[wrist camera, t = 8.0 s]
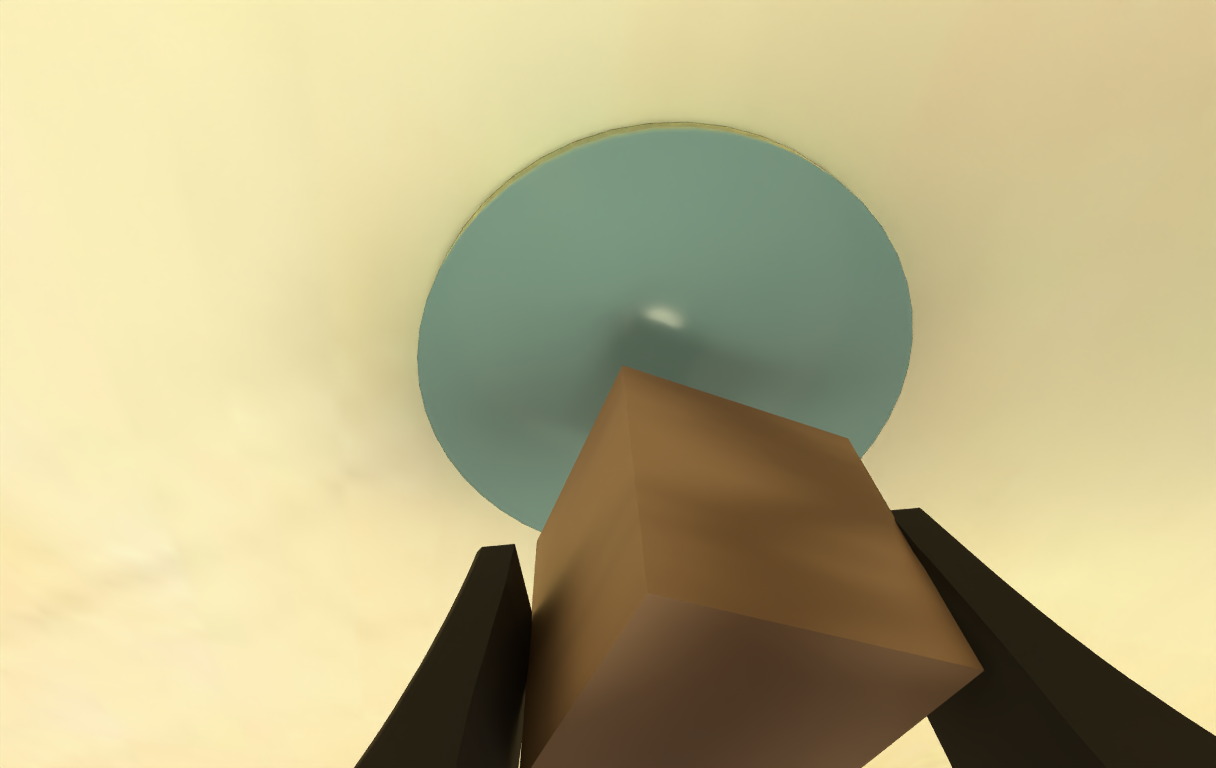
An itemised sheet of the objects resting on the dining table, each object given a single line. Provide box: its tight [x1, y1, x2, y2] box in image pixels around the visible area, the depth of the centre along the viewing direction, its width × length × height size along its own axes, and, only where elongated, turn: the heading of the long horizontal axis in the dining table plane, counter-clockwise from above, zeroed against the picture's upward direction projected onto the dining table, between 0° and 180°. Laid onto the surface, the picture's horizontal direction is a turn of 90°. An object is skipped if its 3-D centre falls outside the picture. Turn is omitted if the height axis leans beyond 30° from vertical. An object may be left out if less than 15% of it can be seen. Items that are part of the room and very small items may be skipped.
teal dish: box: [417, 122, 912, 532], centre depth 17 cm, size 13×13×1 cm
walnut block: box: [520, 365, 984, 768], centre depth 11 cm, size 5×5×5 cm
